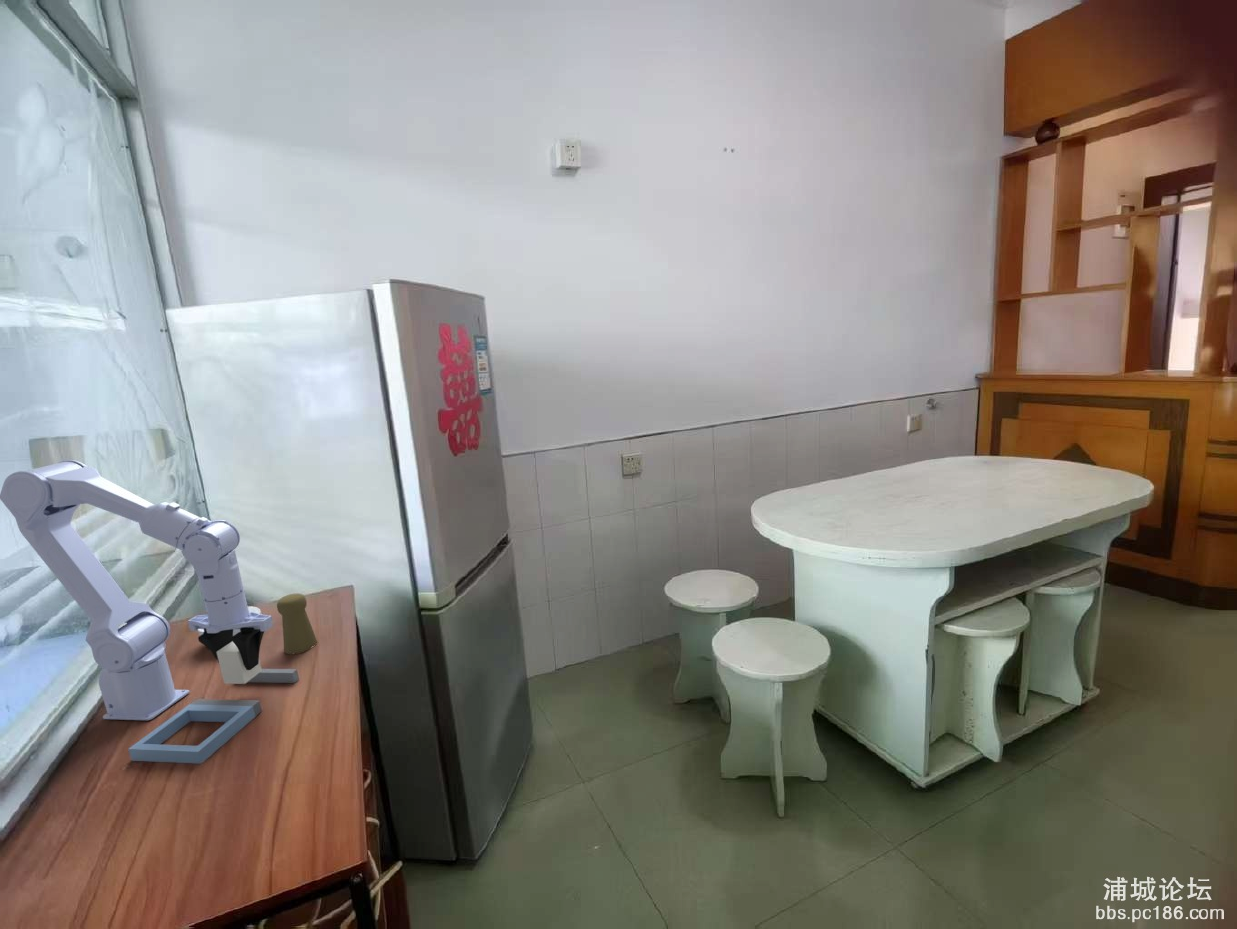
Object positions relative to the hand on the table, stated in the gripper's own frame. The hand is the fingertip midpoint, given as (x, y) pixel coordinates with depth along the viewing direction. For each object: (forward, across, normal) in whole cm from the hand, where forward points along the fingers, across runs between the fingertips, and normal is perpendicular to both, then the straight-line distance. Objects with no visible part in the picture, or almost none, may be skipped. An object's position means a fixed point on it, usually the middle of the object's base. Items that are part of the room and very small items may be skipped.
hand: (240, 666), depth 101 cm
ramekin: (+6, -19, +18) cm, 27 cm away
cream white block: (+2, 0, 0) cm, 2 cm away
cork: (+6, -2, +16) cm, 18 cm away
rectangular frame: (+6, 0, -6) cm, 8 cm away
